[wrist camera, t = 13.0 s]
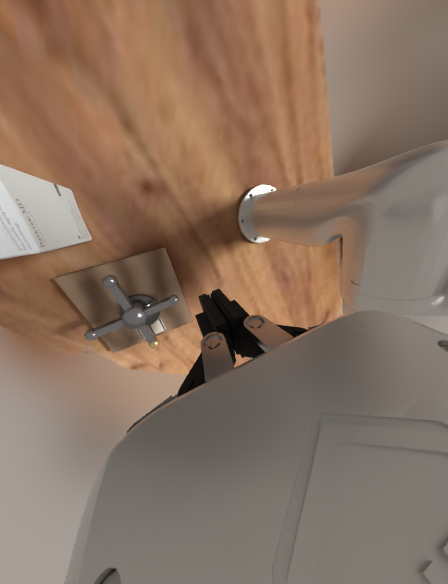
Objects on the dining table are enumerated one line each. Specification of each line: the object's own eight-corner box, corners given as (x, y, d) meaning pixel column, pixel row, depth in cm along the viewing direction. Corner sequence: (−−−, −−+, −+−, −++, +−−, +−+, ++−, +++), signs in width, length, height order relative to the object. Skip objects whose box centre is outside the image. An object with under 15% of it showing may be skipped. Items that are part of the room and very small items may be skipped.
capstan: (60, 286, 29) (40, 301, 24) (158, 251, 33) (159, 258, 27) (119, 350, 38) (113, 371, 33) (190, 317, 42) (195, 332, 37)
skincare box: (93, 239, 29) (48, 257, 17) (53, 244, 28) (-31, 268, 15) (69, 185, 26) (-12, 157, 13) (21, 187, 24) (-126, 156, 11)
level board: (165, 246, 34) (165, 248, 33) (192, 318, 44) (193, 321, 43) (57, 276, 30) (52, 279, 28) (114, 348, 39) (113, 353, 38)
